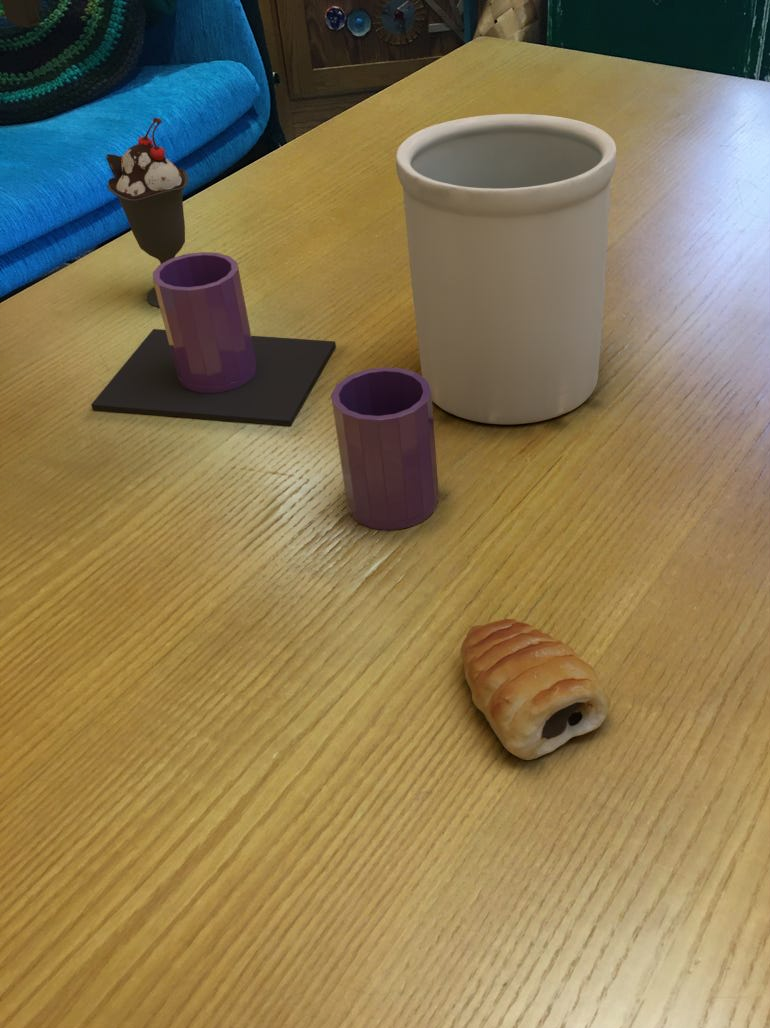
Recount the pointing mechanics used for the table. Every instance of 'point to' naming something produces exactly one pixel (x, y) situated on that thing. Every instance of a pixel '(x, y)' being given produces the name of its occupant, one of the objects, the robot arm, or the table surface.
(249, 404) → the mat
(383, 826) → the table surface
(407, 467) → the purple tumbler
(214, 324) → the purple cup
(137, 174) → the sundae
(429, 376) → the utensil holder
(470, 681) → the pastry
